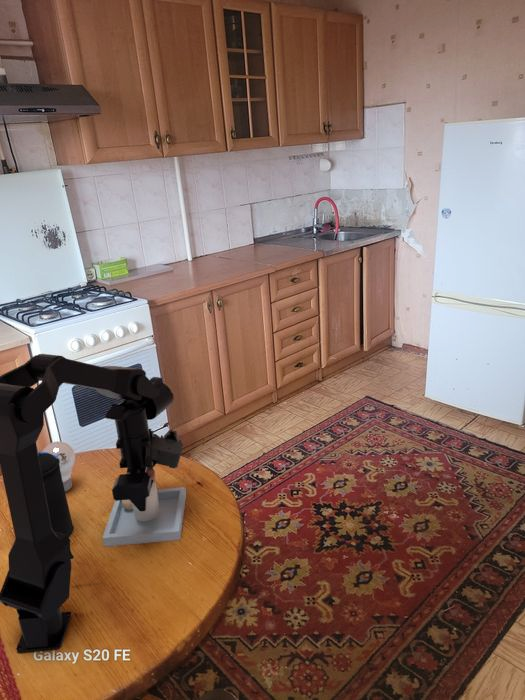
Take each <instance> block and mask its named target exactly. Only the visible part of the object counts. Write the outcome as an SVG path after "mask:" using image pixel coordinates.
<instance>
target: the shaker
mask: <svg viewBox="0 0 525 700" xmlns="http://www.w3.org/2000/svg"><path fill="white" fill-rule="evenodd" d="M146 473H148V475H149V476H150V477H151V480H153V483H152V487H151V490H150V494H149V496H148V497H147V498H146V510H145V511H139V510H138V509H137V508H136V506H135V505H134V504H133V503H132V506H133V512H134V517H135V519H136V520H138V521H149V520H152V519H154V518H156V517H157V516H158V515H159V513H160V507H159V501H158V494H157V489H158V488H157V483H156V473H155V469H154V467H153V468H152V467H147V469H146Z"/></svg>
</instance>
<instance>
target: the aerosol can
mask: <svg viewBox="0 0 525 700" xmlns="http://www.w3.org/2000/svg"><path fill="white" fill-rule="evenodd" d="M36 446H37V451H38V457H39V462H40V468H41V473H42V479H43V484H44V489H45V495H46V500H47V506H48V511H49V517H50V522H51V527H52V530H53V531H54V532H58V533H61V534H65V535H68V537H69V538H70V537H71V535H72V534H73V533H74V529H75V527H74V525H73V521H72V517H71V512H70V508H69V504H68V503H69V502H68V498H67V494H66V492H65V489H64V485H63V480H62V476H61V471H60V467H59V463H60V460H59V458H58V457H57V456H55V455H52V454H50V453H47V452H42V451H39V449H38V448H39V447H38V444H37V443H36Z"/></svg>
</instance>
